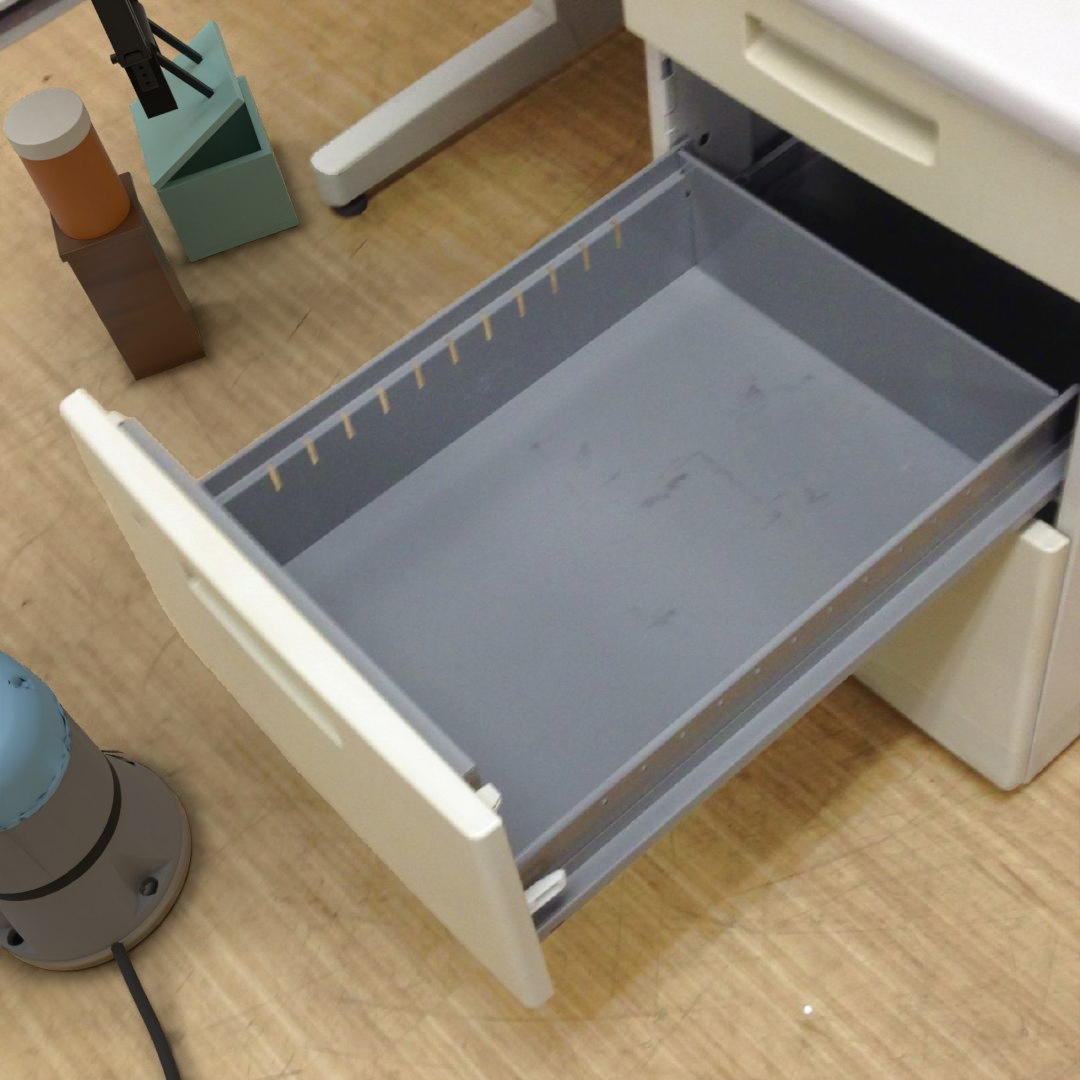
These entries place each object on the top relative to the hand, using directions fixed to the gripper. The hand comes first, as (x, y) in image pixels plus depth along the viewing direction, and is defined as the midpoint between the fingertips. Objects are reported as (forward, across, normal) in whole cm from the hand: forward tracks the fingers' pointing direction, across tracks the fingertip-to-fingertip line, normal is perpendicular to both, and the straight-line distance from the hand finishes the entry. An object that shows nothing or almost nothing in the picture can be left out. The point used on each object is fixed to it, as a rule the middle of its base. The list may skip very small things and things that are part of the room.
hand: (155, 87), depth 131 cm
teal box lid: (+3, 0, -2) cm, 4 cm away
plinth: (+15, -15, +7) cm, 22 cm away
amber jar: (-1, -14, +7) cm, 16 cm away
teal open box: (+15, 0, -2) cm, 15 cm away
